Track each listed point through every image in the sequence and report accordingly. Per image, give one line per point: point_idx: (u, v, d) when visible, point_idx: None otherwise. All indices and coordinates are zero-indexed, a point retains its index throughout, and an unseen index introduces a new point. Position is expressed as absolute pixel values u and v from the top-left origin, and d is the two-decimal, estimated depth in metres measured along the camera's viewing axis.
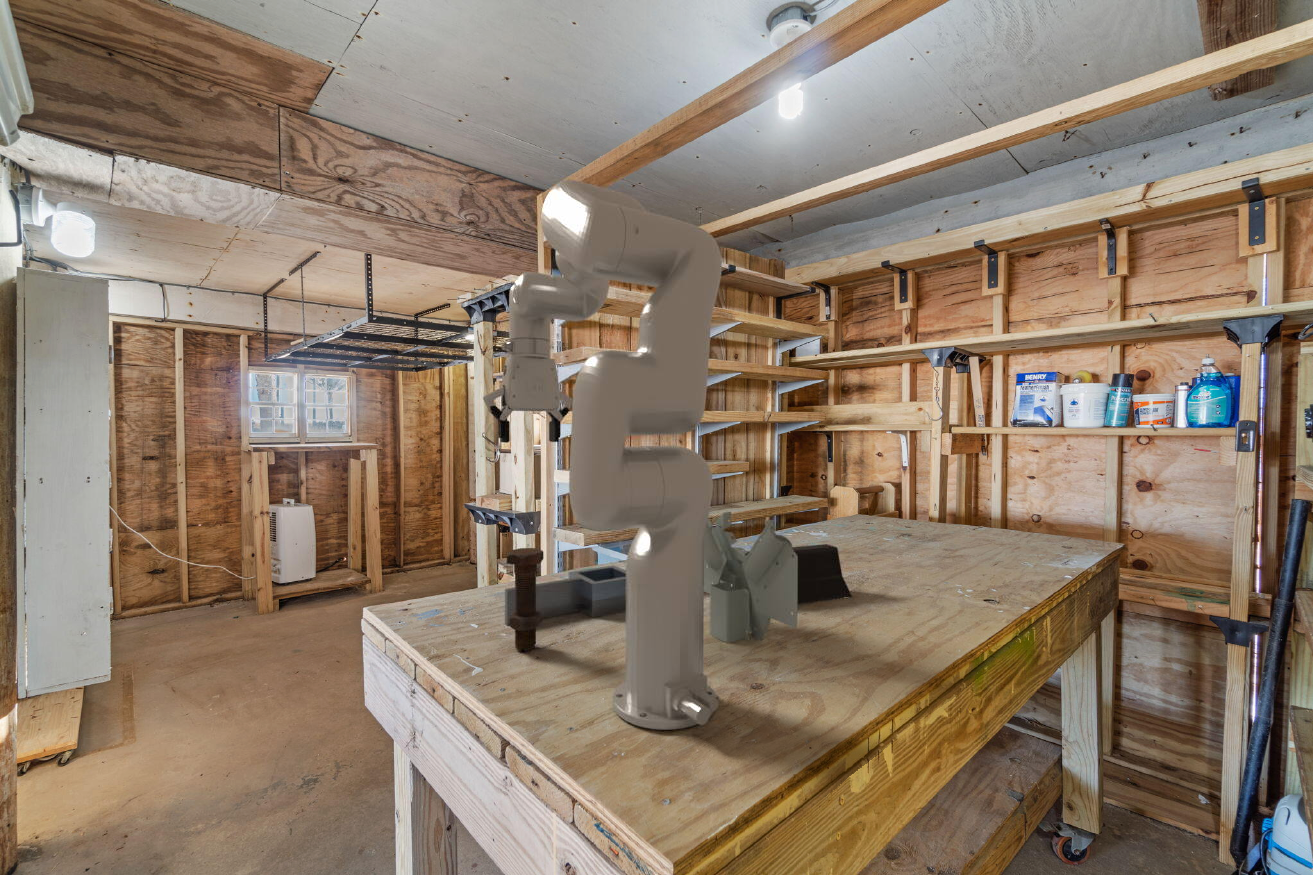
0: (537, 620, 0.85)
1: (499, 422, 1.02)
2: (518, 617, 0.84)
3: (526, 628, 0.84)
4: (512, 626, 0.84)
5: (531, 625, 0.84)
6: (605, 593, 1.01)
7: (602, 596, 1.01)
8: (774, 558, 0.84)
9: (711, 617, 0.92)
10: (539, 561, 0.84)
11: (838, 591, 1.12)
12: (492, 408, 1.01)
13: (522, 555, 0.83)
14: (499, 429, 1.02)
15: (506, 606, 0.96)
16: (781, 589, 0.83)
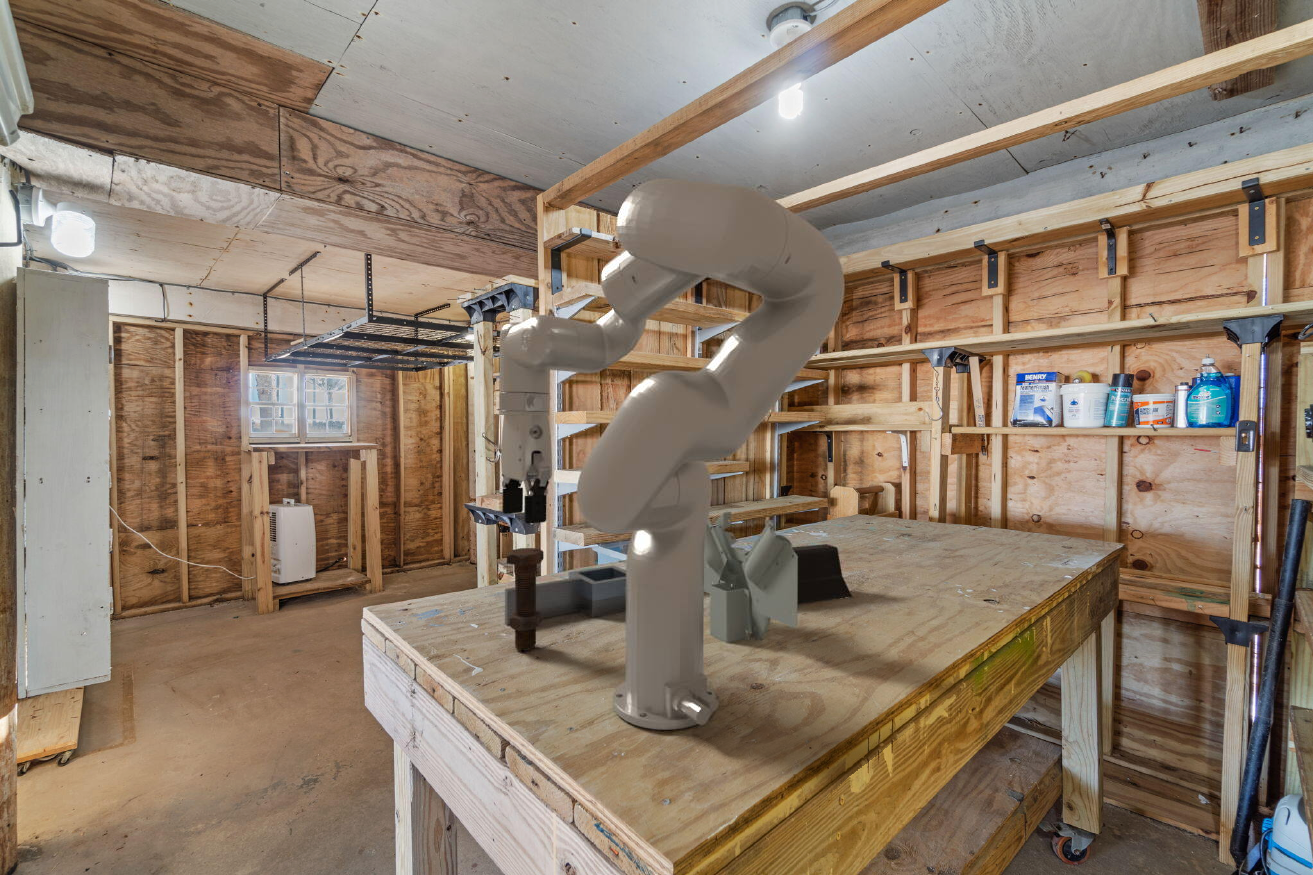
0: (537, 620, 0.85)
1: (539, 498, 0.81)
2: (518, 617, 0.84)
3: (526, 628, 0.84)
4: (512, 626, 0.84)
5: (531, 625, 0.84)
6: (605, 593, 1.01)
7: (602, 596, 1.01)
8: (774, 558, 0.84)
9: (711, 617, 0.92)
10: (539, 561, 0.84)
11: (838, 591, 1.12)
12: (548, 482, 0.80)
13: (522, 555, 0.83)
14: (538, 507, 0.81)
15: (506, 606, 0.96)
16: (781, 589, 0.83)
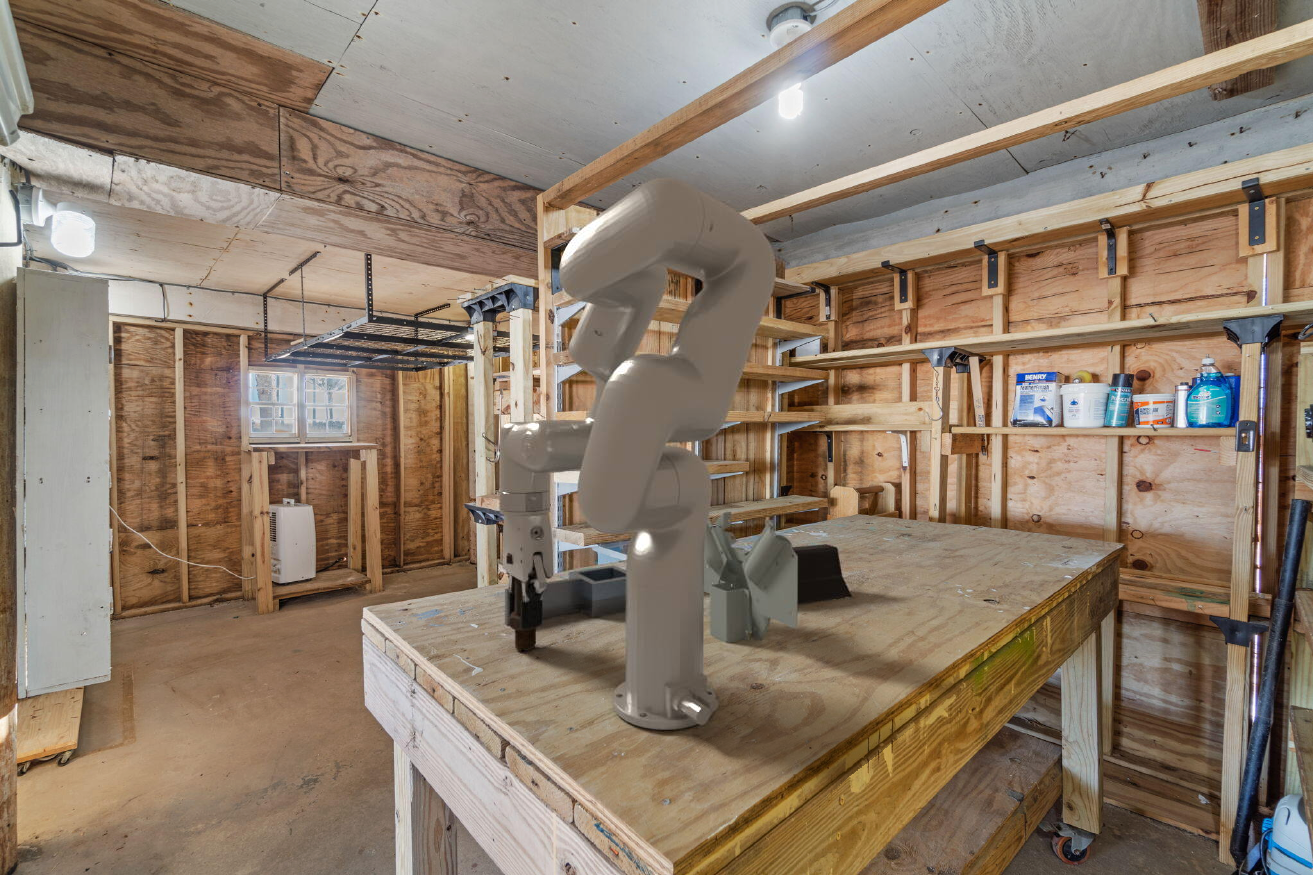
0: None
1: (535, 603, 0.83)
2: (518, 617, 0.84)
3: (526, 628, 0.84)
4: (512, 626, 0.84)
5: None
6: (605, 593, 1.01)
7: (602, 596, 1.01)
8: (774, 558, 0.84)
9: (711, 617, 0.92)
10: None
11: (838, 591, 1.12)
12: None
13: None
14: (534, 612, 0.83)
15: (506, 606, 0.96)
16: (781, 589, 0.83)
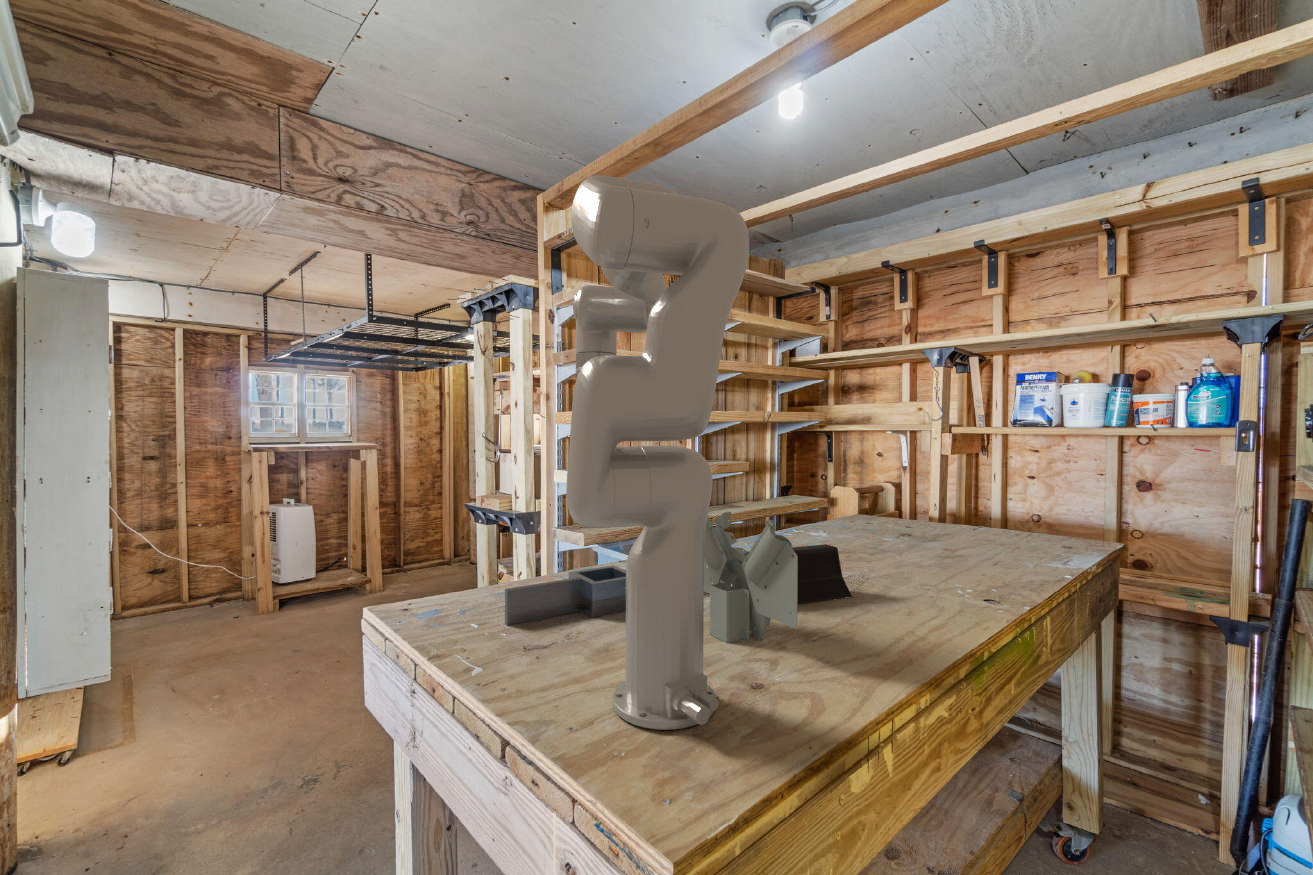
0: None
1: None
2: None
3: None
4: None
5: None
6: (605, 593, 1.01)
7: (602, 596, 1.01)
8: (774, 558, 0.84)
9: (711, 617, 0.92)
10: None
11: (838, 591, 1.12)
12: None
13: None
14: None
15: (506, 606, 0.96)
16: (781, 589, 0.83)
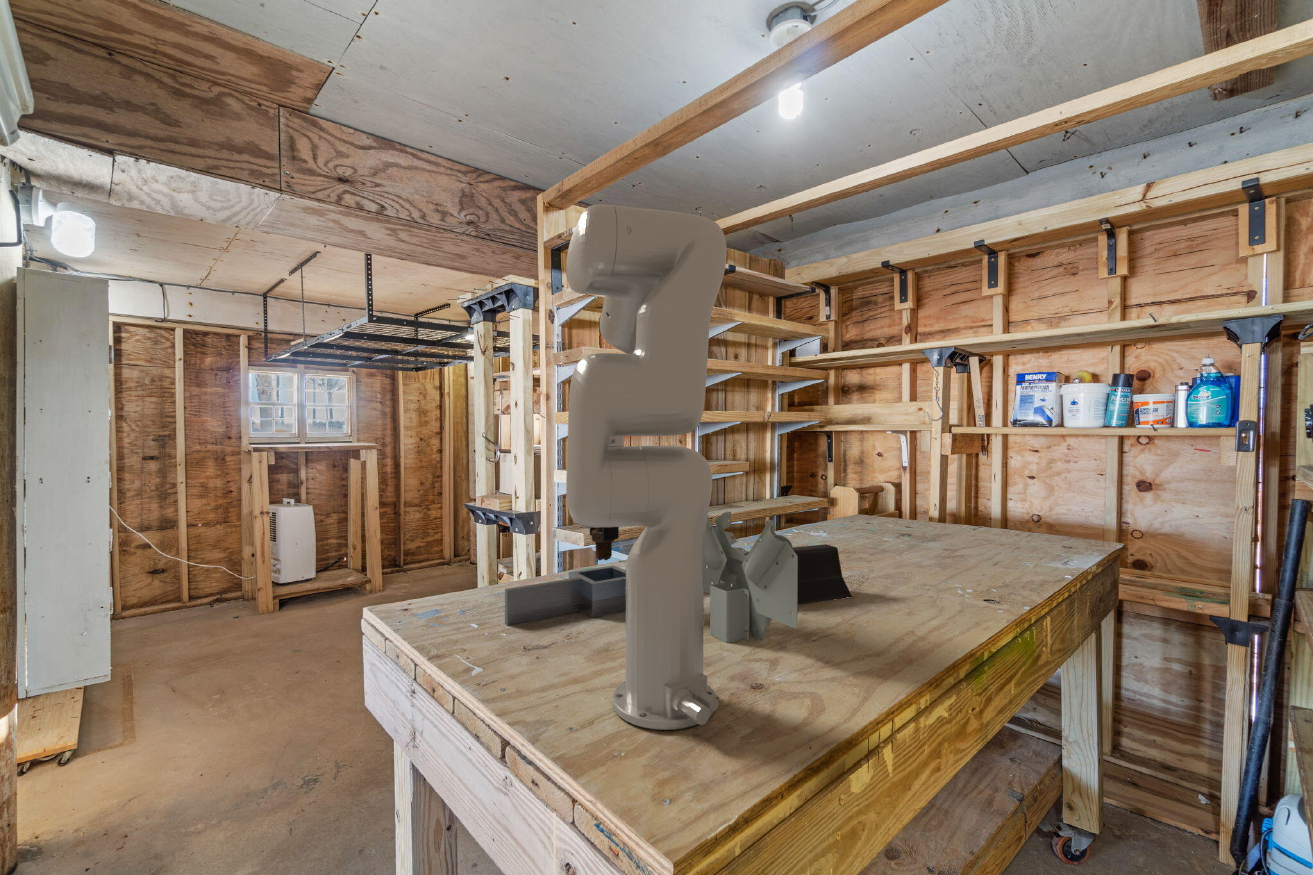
0: None
1: None
2: (599, 532, 1.05)
3: (606, 540, 1.04)
4: (594, 539, 1.05)
5: None
6: (605, 593, 1.01)
7: (602, 596, 1.01)
8: (774, 558, 0.84)
9: (711, 617, 0.92)
10: None
11: (838, 591, 1.12)
12: None
13: None
14: (613, 527, 1.04)
15: (506, 606, 0.96)
16: (781, 589, 0.83)
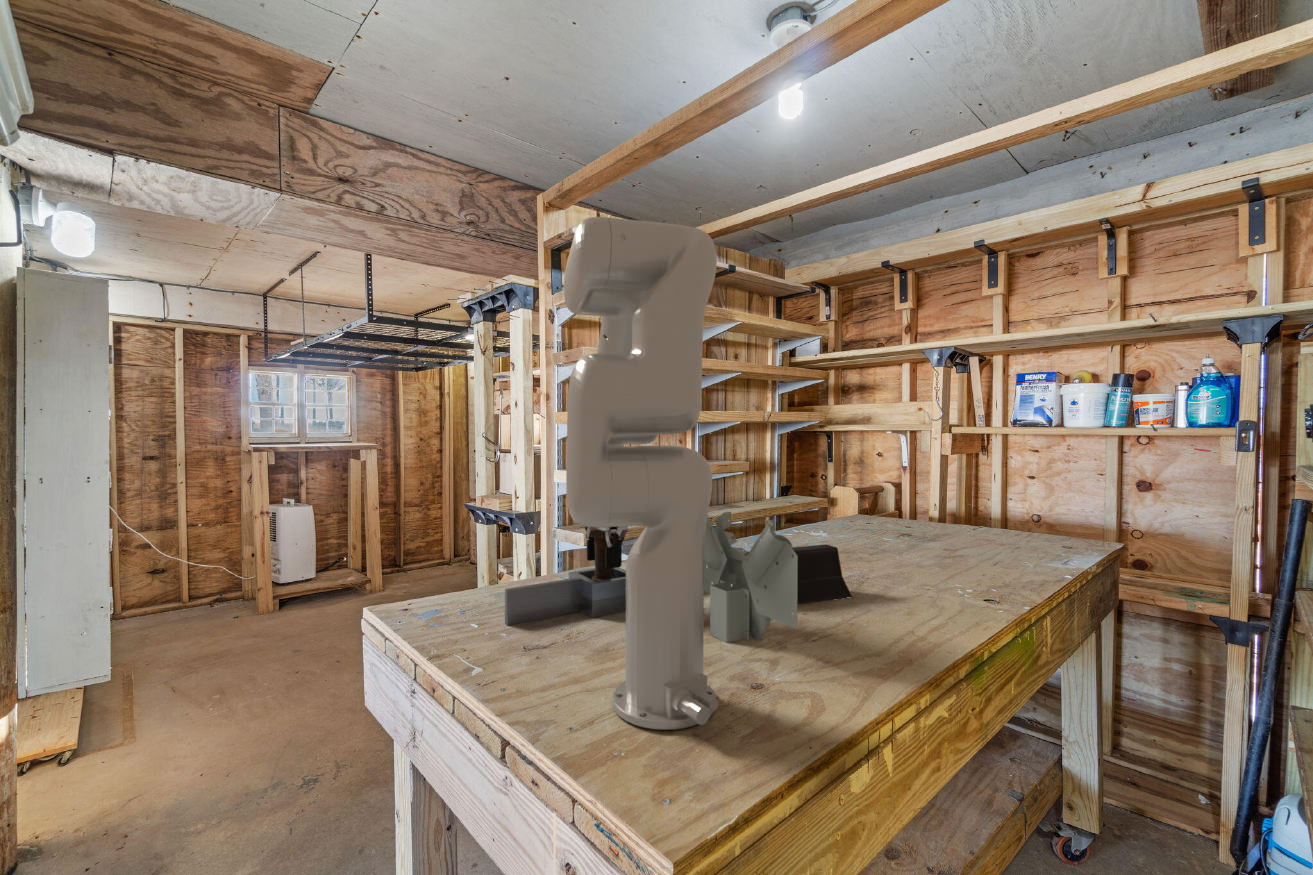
0: None
1: (617, 548, 1.03)
2: (599, 580, 1.05)
3: None
4: None
5: None
6: (605, 593, 1.01)
7: (602, 596, 1.01)
8: (774, 558, 0.84)
9: (711, 617, 0.92)
10: None
11: (838, 591, 1.12)
12: (624, 536, 1.02)
13: None
14: (616, 555, 1.03)
15: (506, 606, 0.96)
16: (781, 589, 0.83)
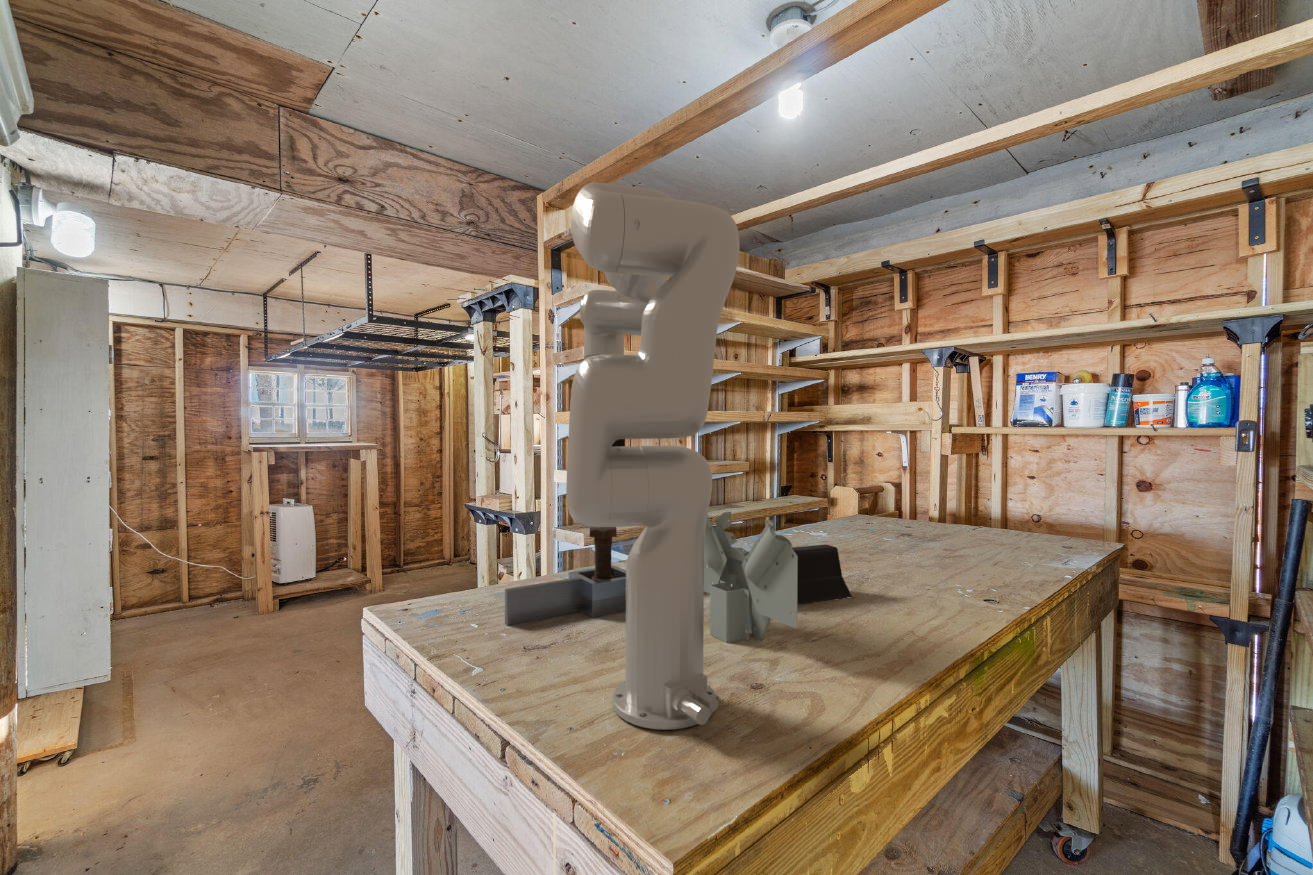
0: None
1: (620, 438, 1.01)
2: (599, 580, 1.05)
3: None
4: None
5: None
6: (605, 593, 1.01)
7: (602, 596, 1.01)
8: (774, 558, 0.84)
9: (711, 617, 0.92)
10: (615, 535, 1.05)
11: (838, 591, 1.12)
12: None
13: (603, 530, 1.04)
14: (619, 445, 1.01)
15: (506, 606, 0.96)
16: (781, 589, 0.83)
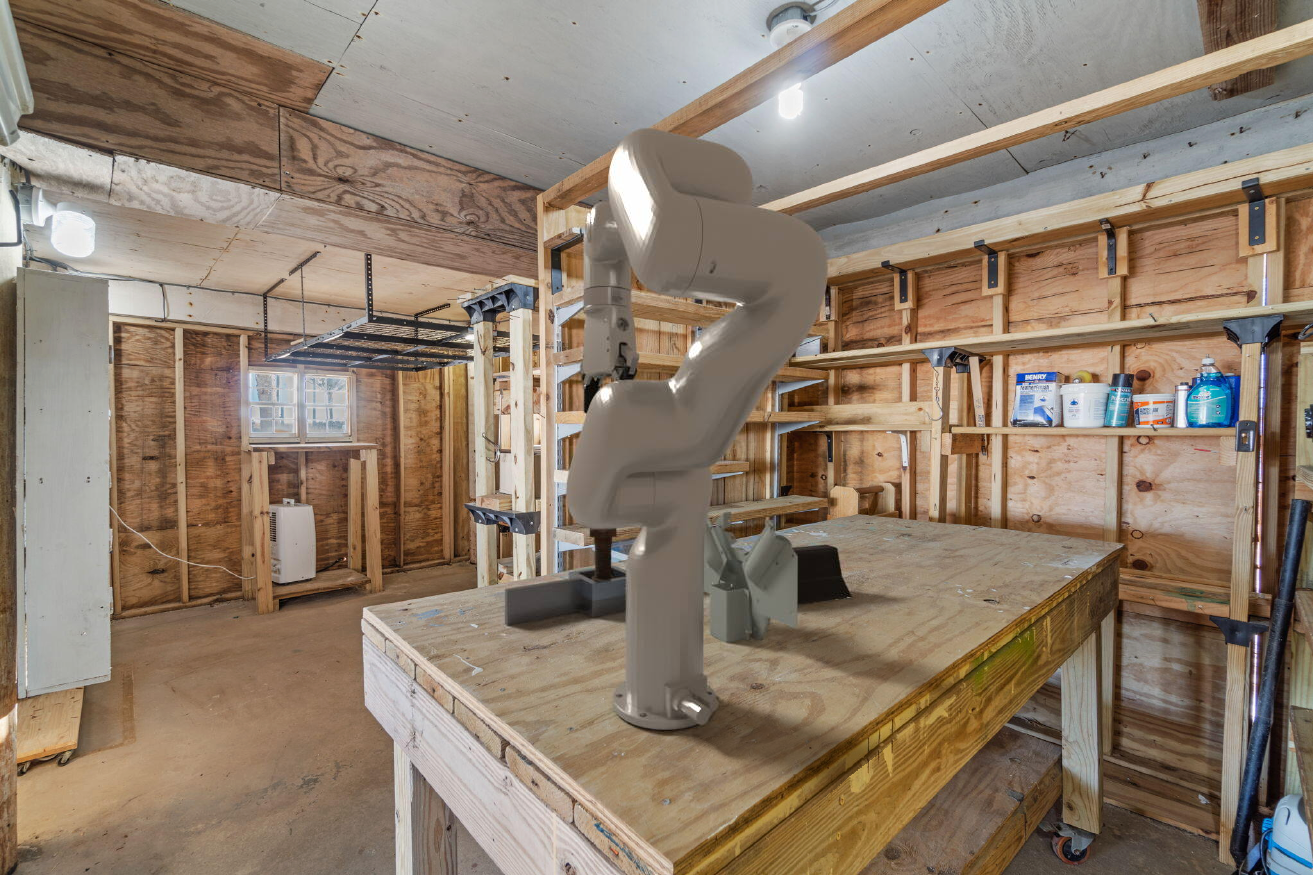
0: None
1: None
2: (599, 579, 1.05)
3: None
4: None
5: None
6: (605, 593, 1.01)
7: (602, 596, 1.01)
8: (774, 558, 0.84)
9: (711, 617, 0.92)
10: (615, 535, 1.05)
11: (837, 592, 1.12)
12: (636, 370, 0.83)
13: (603, 530, 1.04)
14: None
15: (506, 606, 0.96)
16: (781, 589, 0.83)
